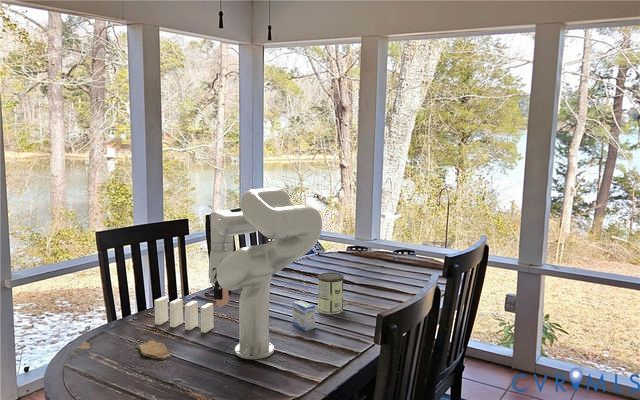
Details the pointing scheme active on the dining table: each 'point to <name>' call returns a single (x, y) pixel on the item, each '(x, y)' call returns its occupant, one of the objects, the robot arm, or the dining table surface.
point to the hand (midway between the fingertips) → (222, 296)
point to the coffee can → (330, 293)
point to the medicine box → (303, 315)
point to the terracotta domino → (225, 298)
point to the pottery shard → (154, 350)
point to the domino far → (161, 310)
